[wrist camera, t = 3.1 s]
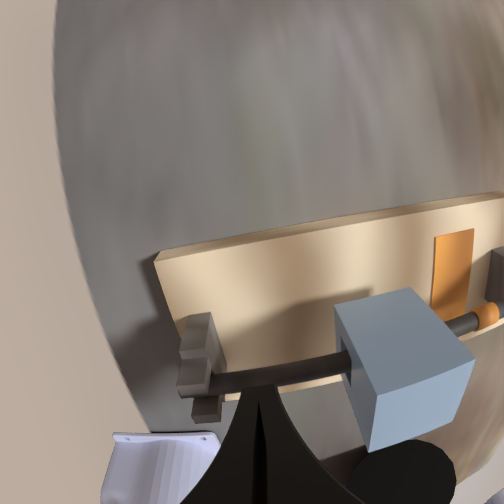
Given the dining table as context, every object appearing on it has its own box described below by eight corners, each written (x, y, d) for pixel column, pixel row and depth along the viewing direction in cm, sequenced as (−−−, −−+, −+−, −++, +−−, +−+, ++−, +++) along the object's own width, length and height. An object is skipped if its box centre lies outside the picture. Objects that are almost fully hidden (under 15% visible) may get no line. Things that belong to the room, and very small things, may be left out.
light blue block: (336, 364, 15) (368, 452, 10) (333, 304, 14) (377, 395, 8) (404, 346, 15) (452, 421, 9) (409, 286, 13) (475, 358, 8)
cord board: (208, 386, 19) (200, 466, 13) (160, 251, 16) (117, 317, 10) (503, 309, 18) (550, 352, 12) (519, 188, 15) (585, 213, 9)
